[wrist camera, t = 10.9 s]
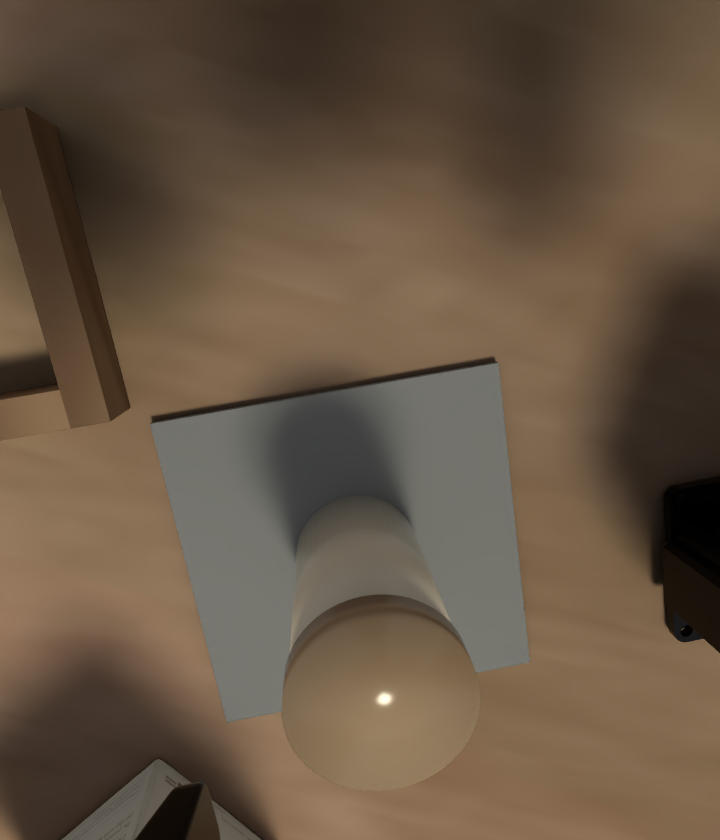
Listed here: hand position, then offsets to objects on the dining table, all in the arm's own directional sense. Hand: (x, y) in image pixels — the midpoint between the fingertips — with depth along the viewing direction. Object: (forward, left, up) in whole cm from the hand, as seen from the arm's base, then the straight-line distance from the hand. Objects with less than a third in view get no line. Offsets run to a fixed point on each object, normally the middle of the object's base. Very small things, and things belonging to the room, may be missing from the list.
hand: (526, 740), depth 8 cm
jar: (+2, +3, -13) cm, 13 cm away
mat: (+2, +3, -13) cm, 13 cm away
